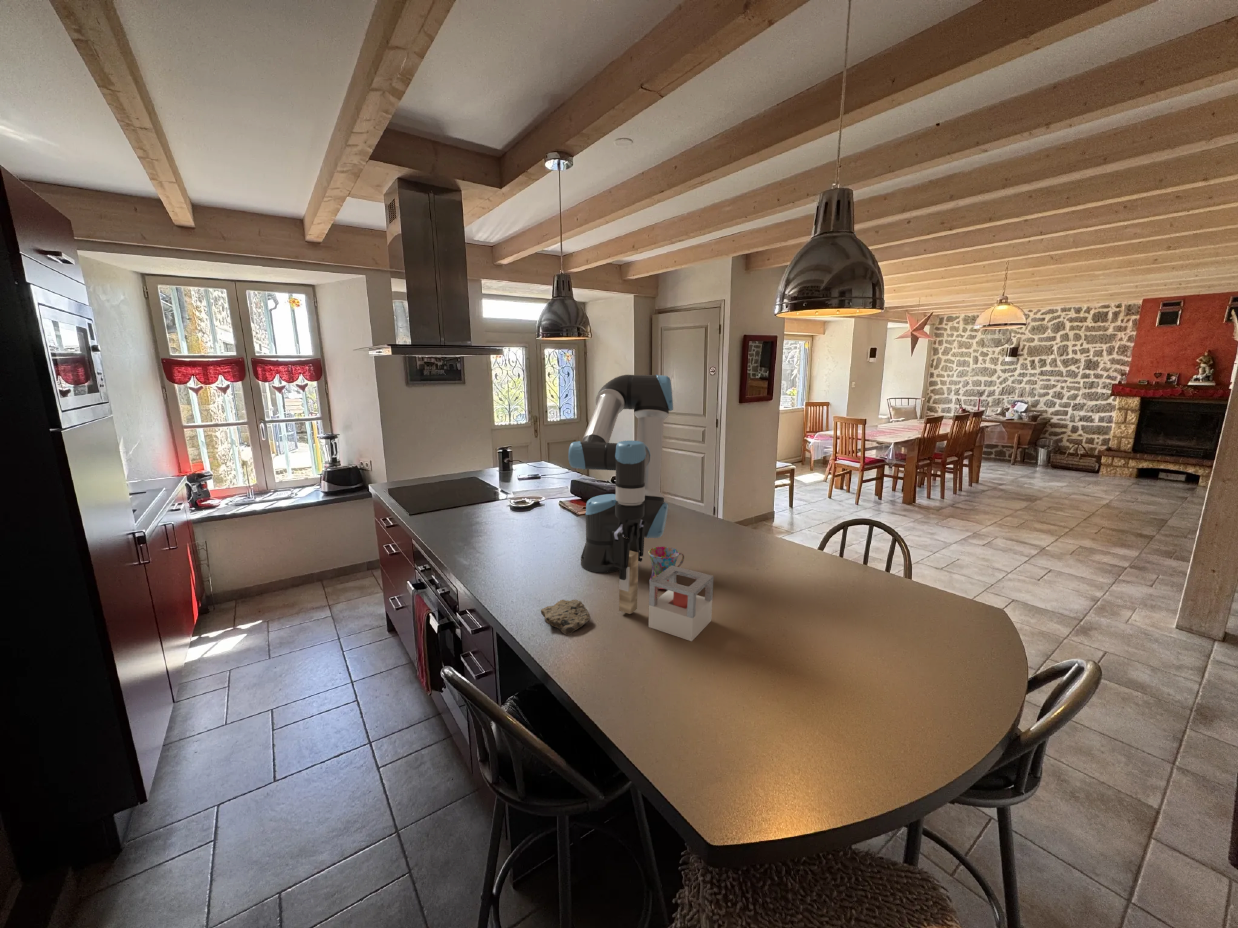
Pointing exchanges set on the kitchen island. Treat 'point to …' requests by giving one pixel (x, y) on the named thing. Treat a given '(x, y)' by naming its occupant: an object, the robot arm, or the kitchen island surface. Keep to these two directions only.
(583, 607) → the rock
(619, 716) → the kitchen island surface
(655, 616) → the box
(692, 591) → the frame
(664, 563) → the mug
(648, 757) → the kitchen island surface
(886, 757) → the kitchen island surface
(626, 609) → the tall wooden block
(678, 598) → the red dome button
